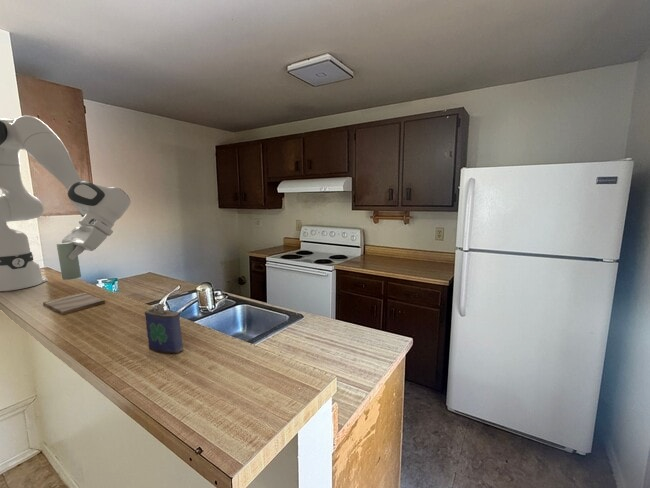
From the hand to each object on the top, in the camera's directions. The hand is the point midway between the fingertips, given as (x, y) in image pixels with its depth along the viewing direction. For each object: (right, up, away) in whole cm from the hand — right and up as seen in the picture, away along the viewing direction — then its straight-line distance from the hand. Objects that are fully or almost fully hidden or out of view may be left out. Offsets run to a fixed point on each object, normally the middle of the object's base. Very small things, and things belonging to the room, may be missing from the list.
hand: (65, 257), depth 104 cm
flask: (+49, -21, -30) cm, 61 cm away
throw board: (-1, -16, +5) cm, 17 cm away
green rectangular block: (+1, -7, +2) cm, 7 cm away
